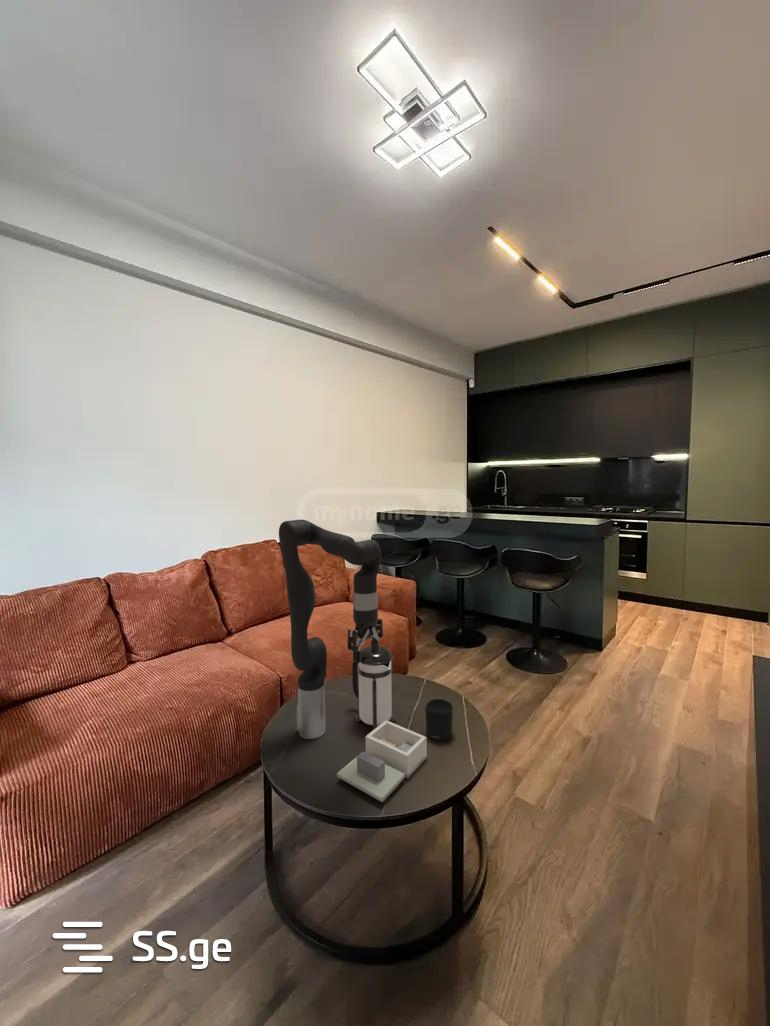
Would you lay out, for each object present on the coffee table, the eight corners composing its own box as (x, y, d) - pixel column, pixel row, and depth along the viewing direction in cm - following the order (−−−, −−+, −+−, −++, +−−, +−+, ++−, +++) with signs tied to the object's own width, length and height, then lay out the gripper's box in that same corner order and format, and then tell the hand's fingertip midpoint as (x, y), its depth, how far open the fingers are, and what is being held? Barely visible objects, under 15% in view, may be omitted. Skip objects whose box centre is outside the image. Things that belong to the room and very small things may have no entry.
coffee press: (397, 709, 158) (396, 633, 156) (394, 734, 142) (393, 650, 140) (353, 707, 160) (352, 632, 158) (345, 731, 144) (343, 649, 142)
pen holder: (420, 730, 144) (420, 703, 144) (442, 722, 149) (442, 696, 148) (435, 745, 136) (435, 716, 135) (458, 737, 140) (458, 709, 140)
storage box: (365, 757, 131) (365, 736, 130) (386, 739, 139) (385, 720, 139) (407, 778, 121) (407, 756, 121) (426, 758, 130) (426, 737, 129)
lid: (337, 780, 120) (336, 758, 120) (361, 759, 129) (361, 738, 129) (381, 806, 110) (381, 782, 110) (404, 780, 120) (404, 759, 119)
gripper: (370, 598, 132) (371, 646, 134) (340, 609, 121) (341, 662, 122) (389, 602, 128) (389, 652, 129) (359, 614, 116) (360, 669, 118)
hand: (366, 657), depth 126 cm, fingers open, 8 cm apart
